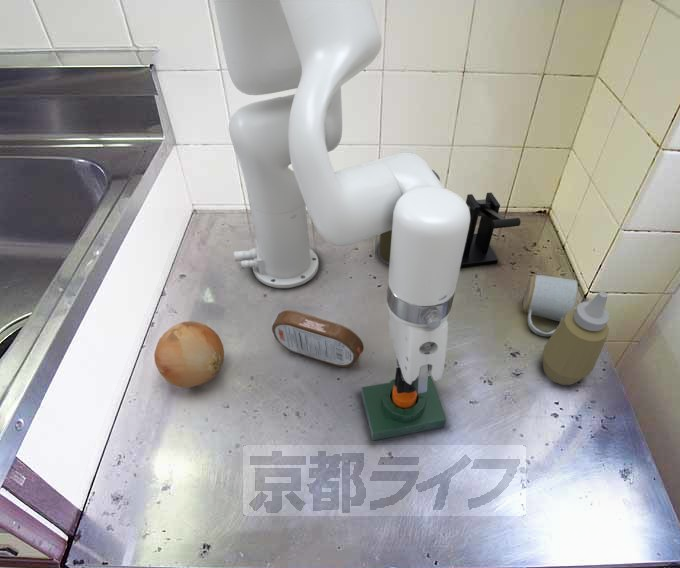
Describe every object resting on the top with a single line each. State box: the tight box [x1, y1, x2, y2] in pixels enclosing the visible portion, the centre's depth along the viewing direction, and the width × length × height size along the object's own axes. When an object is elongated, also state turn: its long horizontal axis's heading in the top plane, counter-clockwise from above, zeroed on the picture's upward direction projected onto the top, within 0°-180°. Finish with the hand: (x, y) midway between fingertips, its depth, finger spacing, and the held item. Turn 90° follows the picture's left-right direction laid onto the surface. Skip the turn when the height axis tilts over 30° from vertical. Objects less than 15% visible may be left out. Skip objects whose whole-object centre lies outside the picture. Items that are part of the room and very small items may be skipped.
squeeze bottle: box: [542, 291, 610, 386], centre depth 72 cm, size 8×8×18 cm
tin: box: [271, 309, 364, 368], centre depth 75 cm, size 15×3×8 cm, turn 71°
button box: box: [361, 375, 447, 441], centre depth 70 cm, size 11×8×4 cm
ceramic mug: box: [522, 274, 579, 337], centre depth 84 cm, size 11×8×8 cm
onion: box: [153, 320, 225, 388], centre depth 71 cm, size 10×10×10 cm
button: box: [392, 385, 417, 408], centre depth 69 cm, size 4×4×2 cm
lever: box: [476, 198, 522, 230], centre depth 86 cm, size 12×5×2 cm, turn 14°
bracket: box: [460, 192, 501, 269], centre depth 94 cm, size 9×8×13 cm
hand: (406, 387), depth 67 cm, fingers closed
